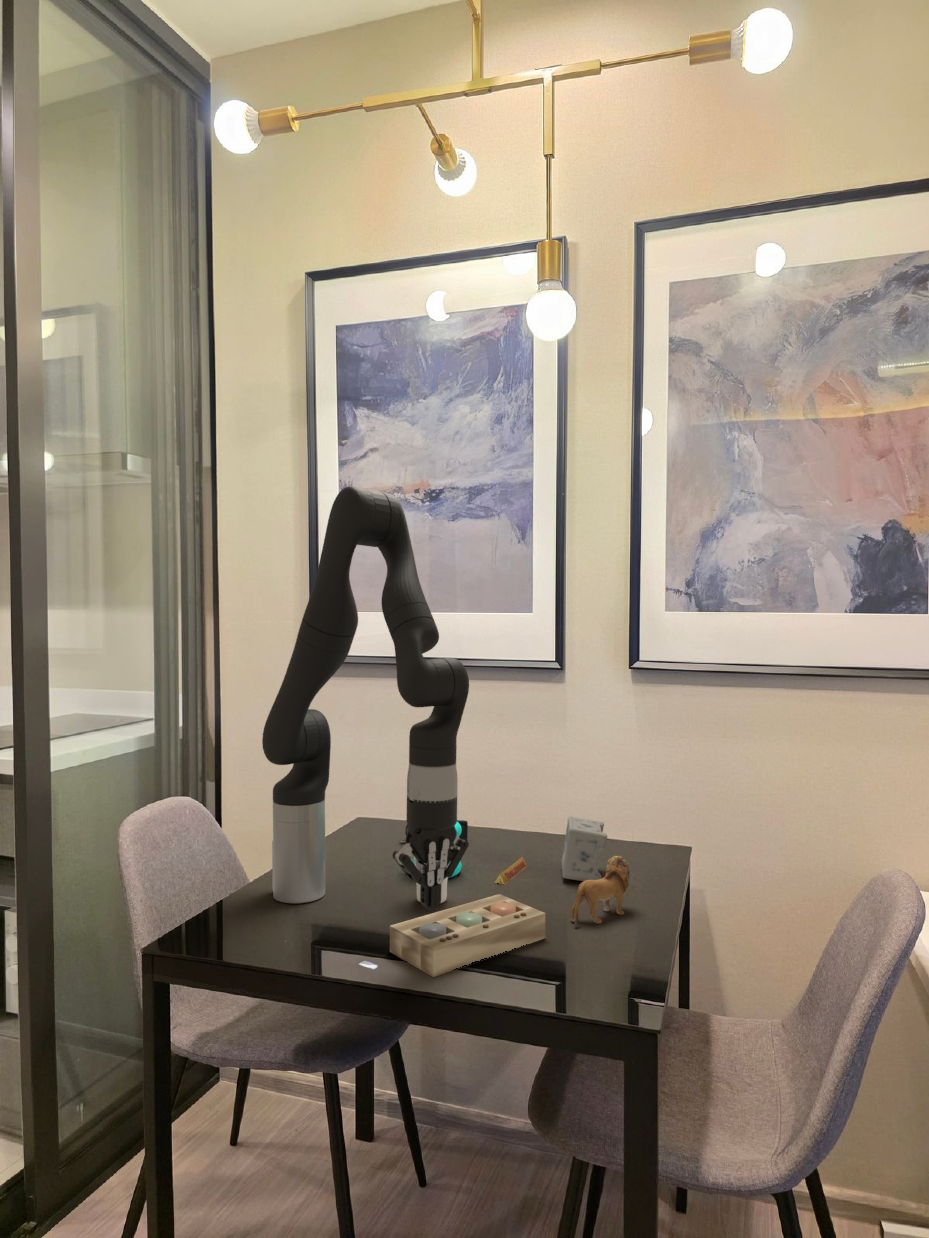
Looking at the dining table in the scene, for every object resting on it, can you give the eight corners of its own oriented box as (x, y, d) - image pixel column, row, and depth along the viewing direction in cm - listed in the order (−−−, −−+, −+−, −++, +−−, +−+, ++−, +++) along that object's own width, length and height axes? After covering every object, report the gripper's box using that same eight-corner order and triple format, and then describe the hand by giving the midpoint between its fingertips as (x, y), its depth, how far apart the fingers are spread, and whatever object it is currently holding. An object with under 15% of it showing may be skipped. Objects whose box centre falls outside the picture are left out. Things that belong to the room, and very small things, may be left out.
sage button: (450, 935, 132) (450, 916, 132) (470, 929, 134) (470, 910, 134) (467, 943, 129) (467, 924, 129) (487, 937, 131) (487, 917, 131)
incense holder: (607, 885, 159) (607, 830, 159) (562, 884, 160) (562, 829, 159) (603, 868, 169) (603, 816, 168) (561, 867, 169) (561, 815, 169)
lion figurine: (610, 901, 151) (610, 850, 151) (637, 908, 147) (637, 856, 147) (562, 924, 140) (562, 870, 140) (589, 933, 136) (590, 877, 136)
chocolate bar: (493, 885, 160) (493, 873, 160) (516, 866, 171) (516, 855, 171) (505, 887, 159) (506, 875, 159) (528, 868, 170) (528, 857, 170)
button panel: (389, 951, 129) (389, 924, 129) (499, 917, 143) (499, 892, 143) (433, 977, 120) (433, 947, 120) (545, 938, 134) (545, 911, 134)
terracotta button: (485, 924, 136) (485, 905, 136) (504, 918, 139) (504, 900, 139) (502, 932, 133) (502, 913, 133) (520, 926, 136) (520, 907, 136)
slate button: (414, 947, 127) (414, 927, 127) (435, 940, 130) (435, 920, 130) (430, 955, 124) (430, 935, 124) (451, 948, 127) (451, 928, 127)
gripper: (451, 782, 133) (450, 891, 134) (380, 793, 125) (379, 910, 126) (482, 791, 128) (480, 905, 128) (410, 804, 119) (408, 926, 120)
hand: (430, 907), depth 127 cm, fingers closed
